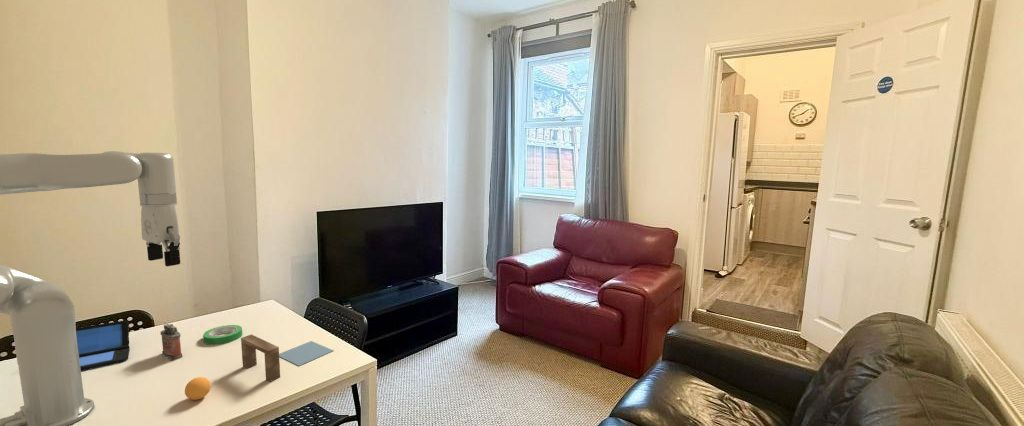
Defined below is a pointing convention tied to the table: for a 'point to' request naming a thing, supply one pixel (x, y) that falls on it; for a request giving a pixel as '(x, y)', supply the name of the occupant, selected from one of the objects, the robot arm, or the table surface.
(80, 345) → the handheld game console
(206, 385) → the ball
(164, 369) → the table surface
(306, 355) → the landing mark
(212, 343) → the tape roll
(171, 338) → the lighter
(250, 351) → the bridge
